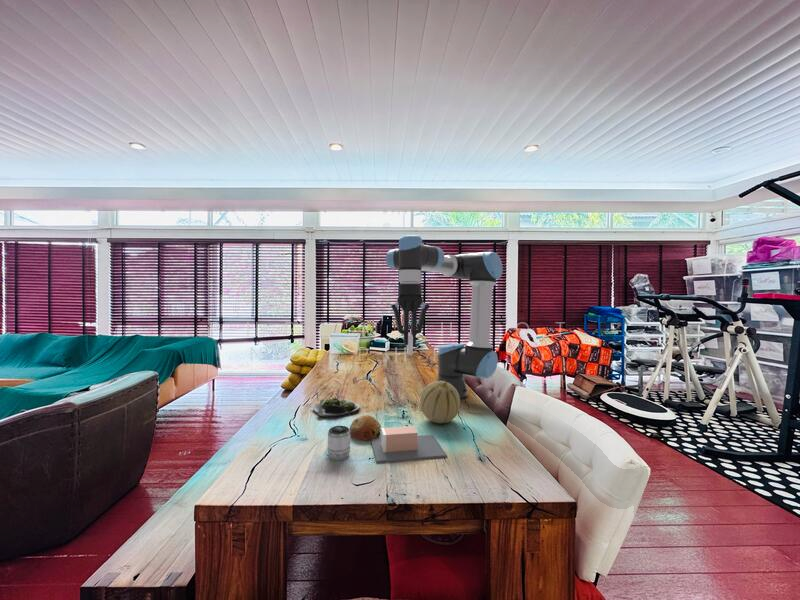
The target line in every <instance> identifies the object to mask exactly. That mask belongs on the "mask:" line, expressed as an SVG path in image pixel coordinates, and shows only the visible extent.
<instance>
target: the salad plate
mask: <svg viewBox="0 0 800 600" xmlns="http://www.w3.org/2000/svg"><path fill="white" fill-rule="evenodd" d="M360 408H361V405H359V404H357V403H355V402H353V401H351V400H349V399H346V398H345V399H344V398H343V399H340V398H337V397H332V398H328V397H327V398H325V399H324V398H322V399H320V400H319V403H316V404H314V405H313V406H312V410H313V411H314V412H315V413H317V415H318V416H319V417H323V418H325V419H338V418H344V417H348V416H352V415H355V414H357V413H358V412H359V411H360V410H361V409H360Z"/></svg>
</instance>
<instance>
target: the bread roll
mask: <svg viewBox="0 0 800 600" xmlns="http://www.w3.org/2000/svg"><path fill="white" fill-rule="evenodd" d="M381 427H382V426H381V424H380V422H379V420H377V418H376V417H374V416H373V415H370V414H369V415H368V414H364V415H360V416H359V417H357V418H355V419H354V420H353V421H352V422H351V424H350V426H349V429H350V438H352V439H354V440H357V441H361V442H370V441H371V439H378V438H380V437H381Z"/></svg>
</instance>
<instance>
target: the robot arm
mask: <svg viewBox="0 0 800 600" xmlns="http://www.w3.org/2000/svg"><path fill="white" fill-rule="evenodd" d="M398 240H399V241H398V248H394V249H390V250H388V251H387V253H386V254H385V255H386V256H385V262H386V265H387V266H388V268H390V269H391V270H398V282H399V284H398V298H397V299H396V302H394V303H391V304H390V308H391V309H392V311H393V315H394V319H395V323H396V328H397V331H398V333H400V334H401V335H403V344H404V346H406V355H407V356H413V355H414V354H413V353H414V351H413V350H414V349H413V348H414V345H416V344H417V340H416V339H417V335H418V334H421V333H422V330H423V327H424V324H425V323H424V322H425V318H426V313H427V311H428V310H429V308H430V304H428V303H425V302H424V299H423V297H422V285H421V282H422V272H428V273H437V274H442V275H443V276H444V277H450V278H455V279H459V280H461V279H462V280H468V283H469V284H470V285H471V303H470V304H471V306H470V318H469V319H470V320H469V321H470V323H469V337H468V339H469V340H468V342H466V343H465V344H464V343H449V344H442V345H440V346H439V347H438V351H437V352H438V354H437V357H438V359H437V363H438V364H437V365H438V367H437V372H438V373H437V379H436V381H445V382H448V383H450V384H451V385H452V386H453V387H454V388H455V389H456V390H457V392H458V393H459V396H460V398H462V399H464V398H463V397H465V396H467V397H468V388H467V385H466V382H465V377H464V376H468V377H469V376H471V377H476V378H478V379H480V378H482V379H489V378H491V377H492V376H493V375H494V373H495V372H496V370H497V367H498V363H499V362H498V359H499V356H498V354H497V352H496V351H494V349H493V348H494V346H493V345H492V344H491V343H490V341H491V340H490V339H491V337H490V336H491V323H492V303H493V302H492V301H493V287H494V286H496V284H497V280H498V279H500V278H502V275H503V264H502V260H501V258H500V256H499V254H498V253H496V252H494V251H481V252H471V253H460V254H446V255H445V252H444V250H443V249H442V248H440V247H438V246H436V245H428V244H423V240H422V237H421V236H419V235H403V236H401V237H400V238H399V239H398ZM399 306H400V307H399ZM399 308H401V310H402V311H403V325H402V319H401V317H400V312H399ZM419 308H421V309H420V313H419V317H418V321H417V313H418V312H417V311H418V309H419ZM409 317H410V318H409ZM409 319H410V322H409ZM409 323H410V325H409ZM409 326H410V328H409ZM409 329H410V333H409ZM465 398H466V397H465Z"/></svg>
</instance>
